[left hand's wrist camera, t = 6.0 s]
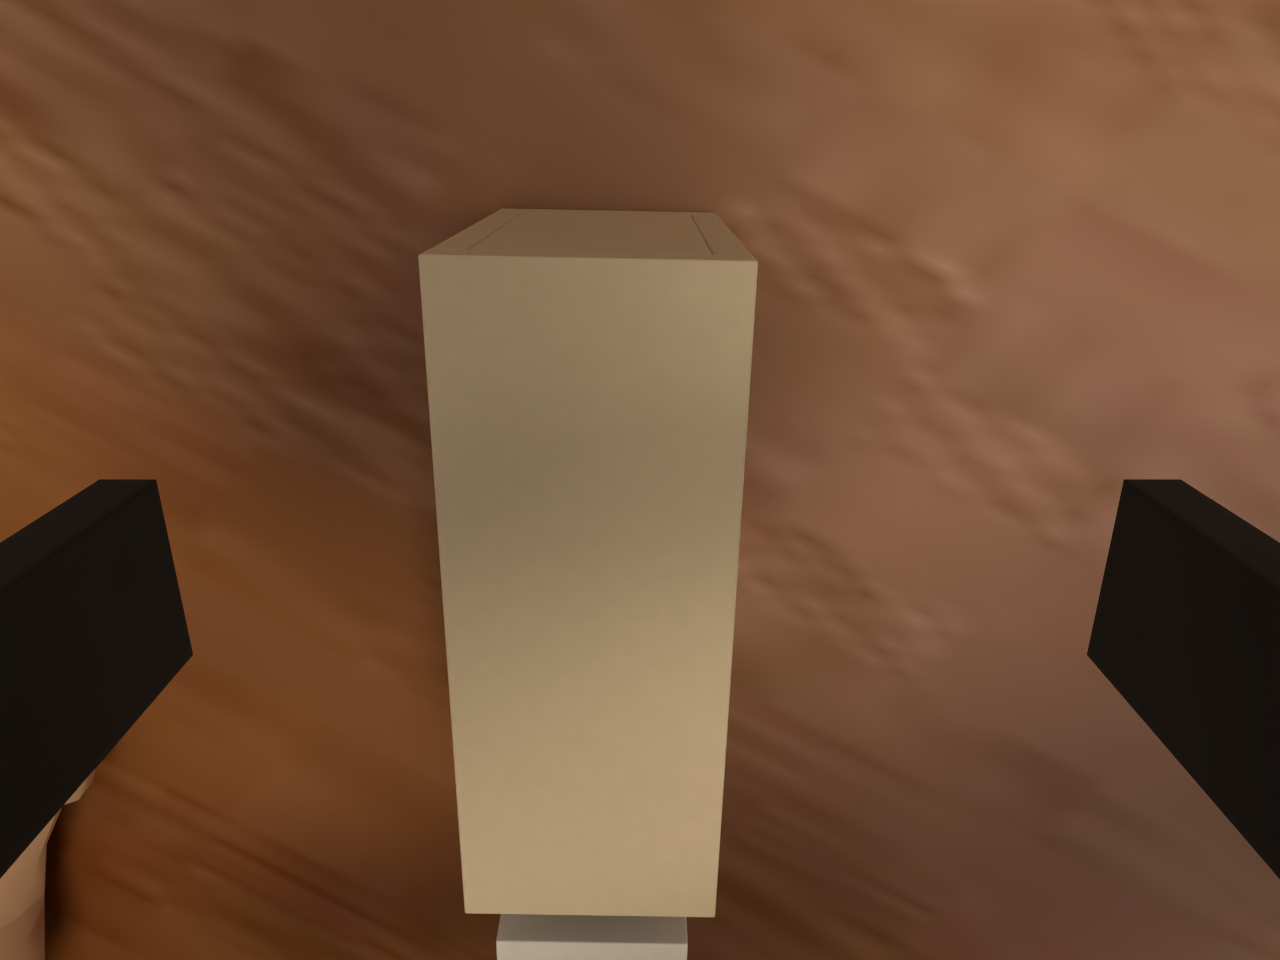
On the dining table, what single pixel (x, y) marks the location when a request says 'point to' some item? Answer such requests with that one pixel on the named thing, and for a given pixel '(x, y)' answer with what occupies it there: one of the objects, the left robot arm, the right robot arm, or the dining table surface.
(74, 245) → the dining table surface
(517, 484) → the beige rectangular block
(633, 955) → the drawer
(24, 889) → the squash
